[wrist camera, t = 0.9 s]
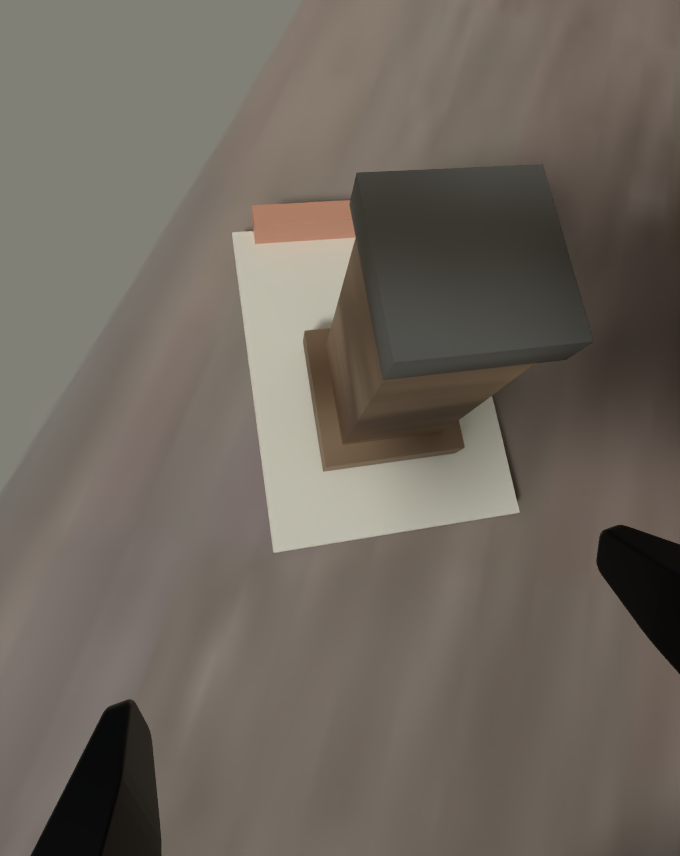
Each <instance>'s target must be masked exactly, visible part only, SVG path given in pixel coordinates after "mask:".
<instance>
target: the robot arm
mask: <svg viewBox="0 0 680 856" xmlns="http://www.w3.org/2000/svg"><path fill="white" fill-rule="evenodd" d="M596 562H597V566H598V569H599V571H600V573H601V575H602V576H603V577H604V579H605V580H606V581H607V583H608V584H609V586H610V587H611V588H612V590H613V591H614V592H615V594H616V595H617V596H618V598H619V599H620V601H621V602H622V603H623V605H624V606H625V607H626V609H627V610H628V612H629V613H630V614H631V616H632V617H633V618H634V620H635V621H636V622H637V624H638V625H639V627H640V628H641V629H642V630H643V632H644V633H645V634H646V636H647V637H648V638H649V639H650V641H651V642H652V643H653V644H654V645H655V647H656V648H657V649H658V650H659V651H660V652H661V654H662V655H663V656H664V657H665V658H666V659H667V660H668V661H669V663H670V664H671V665H672V666H673V667H674V668H675V669H676V670H677V672H678V673H679V674H680V544H677V543H674V542H671V541H668V540H665V539H662V538H659V537H657V536H654V535H651V534H648V533H645V532H642V531H639V530H636V529H634V528H631V527H628V526H624V525H617V526H614V527H611V528H608V529H605V530H603V531H602V532H601V534H600V537H599V544H598V552H597V560H596ZM31 856H161V831H160V819H159V809H158V798H157V788H156V778H155V767H154V757H153V746H152V738H151V734H150V730H149V727H148V725H147V723H146V721H145V720H144V718H143V716H142V714H141V712H140V710H139V708H138V706H137V705H136V703H135V702H134V701H133V700H131V699H129V700H125V701H123V702H120V703H117V704H114V705H111V706H109V707H108V708H107V709H106V710H105V711H104V712H103V714H102V716H101V718H100V720H99V722H98V724H97V726H96V728H95V730H94V732H93V734H92V736H91V738H90V740H89V742H88V744H87V746H86V748H85V750H84V752H83V753H82V755H81V757H80V759H79V761H78V763H77V765H76V767H75V769H74V771H73V773H72V775H71V777H70V779H69V781H68V783H67V785H66V787H65V789H64V791H63V793H62V795H61V797H60V799H59V801H58V803H57V805H56V807H55V809H54V810H53V812H52V814H51V816H50V818H49V820H48V822H47V824H46V826H45V828H44V830H43V832H42V834H41V836H40V838H39V840H38V842H37V844H36V846H35V848H34V850H33V852H32V854H31Z"/></svg>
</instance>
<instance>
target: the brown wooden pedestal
mask: <svg viewBox="0 0 680 856" xmlns="http://www.w3.org/2000/svg"><path fill="white" fill-rule="evenodd" d="M349 205H350V210H351V216H352V221H353V226H354V232H355V237H356V238H355V241H354V245H353V249H352V252H351V256H350V260H349V263H348V267H347V270H346V274H345V278H344V281H343V285H342V289H341V292H340V296H339V300H338V303H337V307H336V310H335V314H334V318H333V321H332V325H331V328H327V329H316V330H305V331H304V337H303V347H304V353H305V360H306V366H307V372H308V379H309V385H310V392H311V398H312V404H313V411H314V417H315V424H316V430H317V436H318V443H319V449H320V456H321V462H322V469H323V472H325V471H332V470H339V469H346V468H353V467H360V466H368V465H375V464H382V463H389V462H396V461H403V460H410V459H418V458H425V457H432V456H439V455H446V454H453V453H457V452H458V451H460V450H462V449H463V448H465V446H464V441H463V437H462V432H461V427H460V423H459V420H460V419H461V418H463V417H464V416H465V415H467V414H468V413H469V412H471V411H472V410H473V409H475V408H476V407H477V406H479V405H480V404H481V403H483V402H484V401H485V400H487V399H488V398H490V397H491V396H492V395H494V394H495V393H496V392H498V391H499V390H500V389H502V388H503V387H504V386H506V385H507V384H508V383H510V382H511V381H512V380H514V379H515V378H516V377H518V376H519V375H521V374H522V373H523V372H525V371H526V370H527V369H529V368H530V367H531V366H533V365H534V364H535V363H542V362H551V361H560V360H567V359H568V358H570V357H571V356H573V355H574V354H576V353H577V352H579V351H580V350H582V349H583V348H585V347H586V346H587V345H589V344H590V343H592V342H593V338H592V334H591V331H590V327H589V324H588V320H587V317H586V313H585V310H584V306H583V303H582V299H581V296H580V293H579V289H578V286H577V282H576V279H575V275H574V272H573V268H572V265H571V261H570V258H569V254H568V251H567V247H566V244H565V240H564V237H563V233H562V230H561V226H560V223H559V220H558V216H557V213H556V209H555V206H554V202H553V199H552V195H551V192H550V188H549V185H548V181H547V178H546V174H545V171H544V167H543V165H521V166H498V167H475V168H453V169H430V170H407V171H385V172H362V173H357V174H356V178H355V182H354V187H353V191H352V195H351V200H350V204H349Z"/></svg>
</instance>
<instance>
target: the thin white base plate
mask: <svg viewBox="0 0 680 856" xmlns="http://www.w3.org/2000/svg"><path fill="white" fill-rule="evenodd" d="M349 204H350V200H344V201H325V202H306V203H287V204H269V205H252V226H253V231H247V232H232V237H233V247H234V254H235V262H236V270H237V277H238V285H239V293H240V300H241V308H242V316H243V324H244V331H245V339H246V347H247V354H248V362H249V370H250V377H251V385H252V393H253V400H254V408H255V416H256V423H257V431H258V439H259V446H260V454H261V462H262V470H263V477H264V485H265V493H266V500H267V508H268V516H269V523H270V531H271V539H272V546H273V553H277V552H283V551H289V550H295V549H301V548H308V547H314V546H320V545H326V544H332V543H338V542H344V541H350V540H357V539H363V538H369V537H375V536H381V535H387V534H393V533H399V532H405V531H412V530H418V529H424V528H430V527H436V526H442V525H448V524H454V523H461V522H467V521H473V520H479V519H485V518H491V517H497V516H503V515H509V514H515V513H519V508H518V504H517V499H516V495H515V491H514V487H513V482H512V478H511V474H510V470H509V465H508V461H507V457H506V453H505V448H504V444H503V440H502V436H501V432H500V427H499V423H498V419H497V415H496V410H495V406H494V402H493V398H492V396H491V397H490V398H488V399H487V400H485V401H484V402H483V403H481V404H480V405H479V406H477V407H476V408H475V409H473V410H472V411H471V412H469V413H468V414H467V415H465V416H464V417H463V418H461V419H460V420H459V423H460V427H461V432H462V437H463V441H464V446H465V448H463V449H462V450H460V451H458V452H457V453H453V454H446V455H439V456H432V457H425V458H418V459H410V460H403V461H396V462H389V463H382V464H375V465H368V466H360V467H353V468H346V469H339V470H332V471H325V472H323V469H322V462H321V456H320V449H319V443H318V436H317V430H316V424H315V417H314V411H313V404H312V398H311V392H310V385H309V379H308V372H307V366H306V360H305V353H304V347H303V337H304V331H305V330H316V329H327V328H331V325H332V321H333V318H334V314H335V310H336V307H337V303H338V300H339V296H340V292H341V289H342V285H343V281H344V278H345V274H346V270H347V267H348V263H349V260H350V256H351V252H352V249H353V245H354V241H355V238H356V237H355V232H354V226H353V221H352V216H351V210H350V205H349Z"/></svg>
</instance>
